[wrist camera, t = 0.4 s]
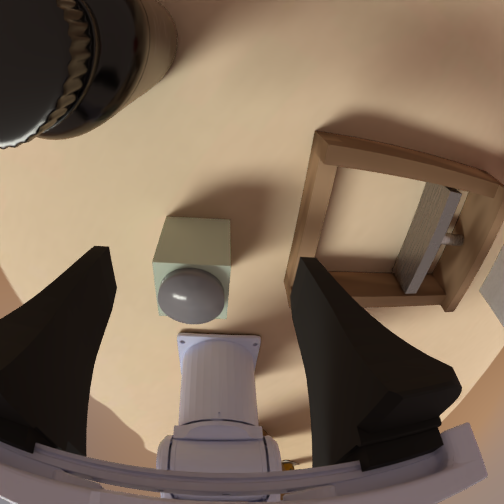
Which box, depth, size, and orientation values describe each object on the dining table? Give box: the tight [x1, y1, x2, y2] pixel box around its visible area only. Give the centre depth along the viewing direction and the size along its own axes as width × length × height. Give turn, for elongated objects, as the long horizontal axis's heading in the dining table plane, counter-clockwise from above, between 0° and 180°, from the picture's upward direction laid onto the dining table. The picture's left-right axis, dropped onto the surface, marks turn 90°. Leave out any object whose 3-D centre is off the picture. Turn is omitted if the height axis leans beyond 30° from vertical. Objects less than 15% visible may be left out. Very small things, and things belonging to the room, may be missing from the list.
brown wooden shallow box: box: [284, 131, 504, 312], centre depth 21 cm, size 12×16×4 cm
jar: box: [152, 216, 231, 324], centre depth 21 cm, size 4×4×6 cm
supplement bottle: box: [0, 0, 177, 149], centre depth 9 cm, size 7×7×12 cm
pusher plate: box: [392, 182, 464, 294], centre depth 22 cm, size 9×5×3 cm, turn 174°
